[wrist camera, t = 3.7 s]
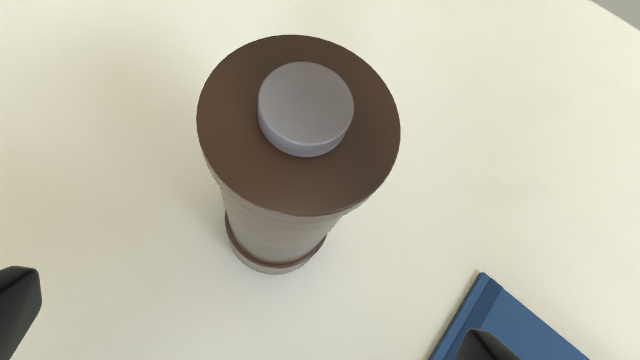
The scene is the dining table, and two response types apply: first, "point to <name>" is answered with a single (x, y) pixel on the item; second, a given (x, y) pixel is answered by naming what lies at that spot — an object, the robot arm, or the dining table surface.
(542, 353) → the napkin
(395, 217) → the dining table surface
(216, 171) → the pepper mill
